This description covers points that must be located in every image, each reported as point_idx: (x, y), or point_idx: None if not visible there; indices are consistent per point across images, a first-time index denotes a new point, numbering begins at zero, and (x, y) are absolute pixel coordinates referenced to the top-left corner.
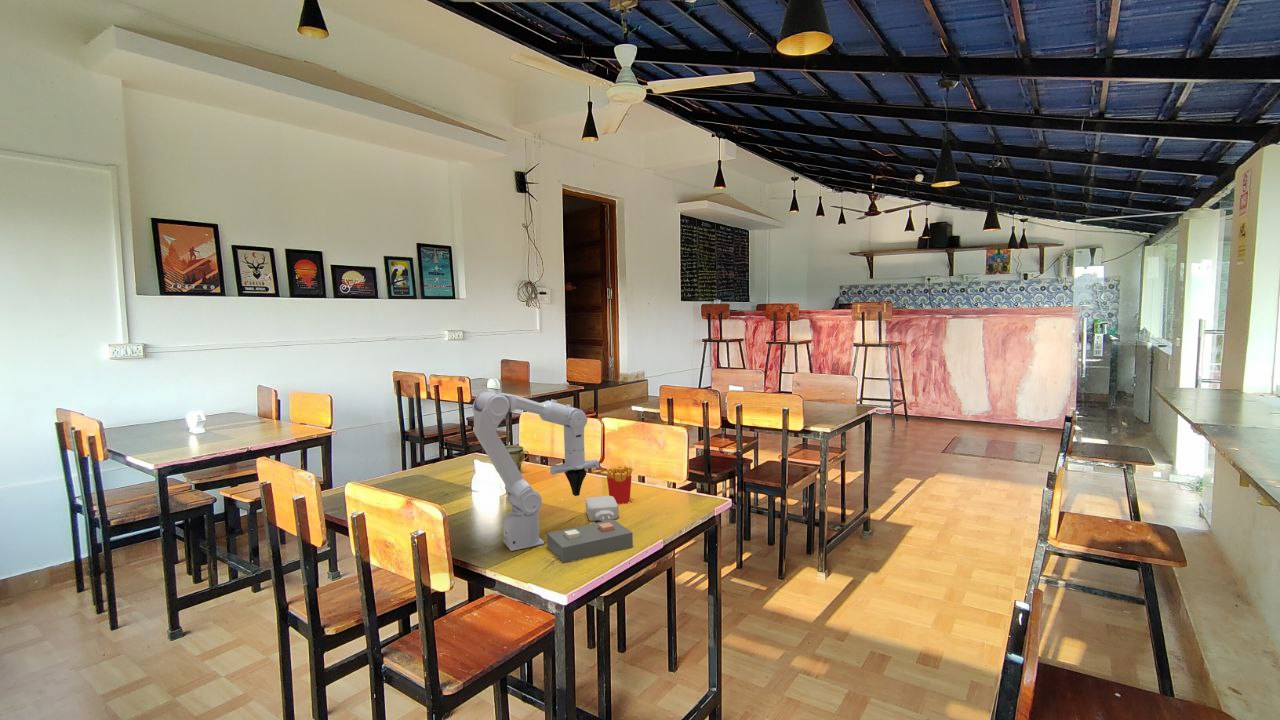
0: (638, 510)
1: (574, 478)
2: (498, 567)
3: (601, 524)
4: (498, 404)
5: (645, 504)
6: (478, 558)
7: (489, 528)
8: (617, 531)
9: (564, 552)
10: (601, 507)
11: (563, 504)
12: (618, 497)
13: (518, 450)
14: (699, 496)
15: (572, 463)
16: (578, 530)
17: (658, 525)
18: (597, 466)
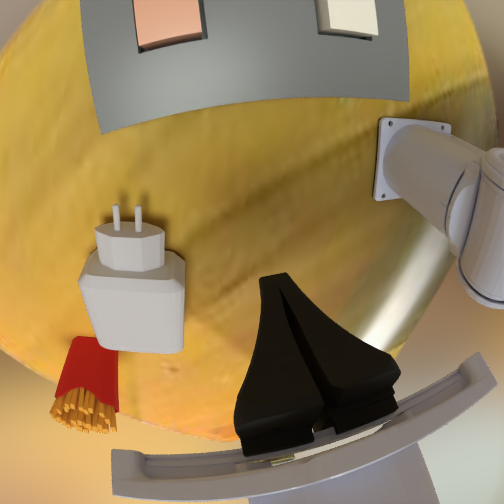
0: (43, 289)
1: (348, 355)
2: (477, 63)
3: (186, 27)
4: None
5: (36, 316)
6: (486, 132)
7: (415, 274)
8: None
9: None
10: (136, 280)
11: (229, 361)
12: (93, 352)
13: (270, 461)
14: None
15: (416, 472)
16: (300, 52)
17: None
18: (124, 459)
